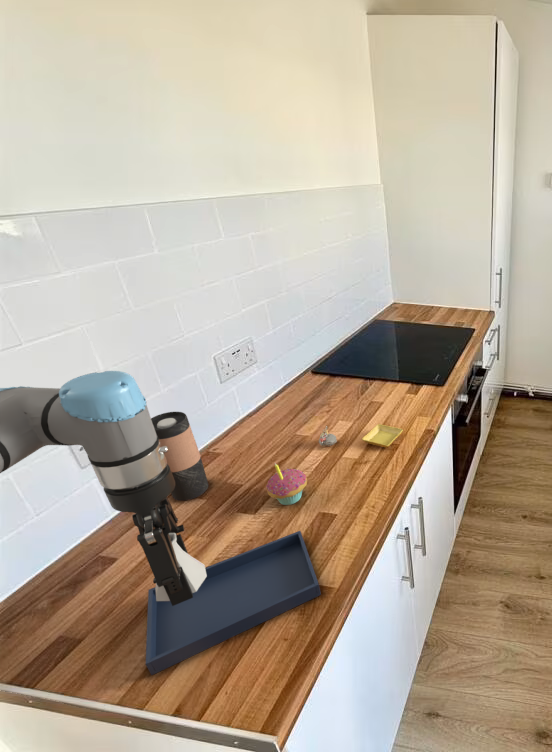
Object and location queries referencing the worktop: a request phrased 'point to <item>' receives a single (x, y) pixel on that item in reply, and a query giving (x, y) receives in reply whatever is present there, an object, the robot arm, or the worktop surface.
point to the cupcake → (286, 485)
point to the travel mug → (181, 455)
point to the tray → (230, 601)
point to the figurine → (327, 438)
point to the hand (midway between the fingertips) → (182, 582)
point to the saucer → (382, 435)
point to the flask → (190, 567)
